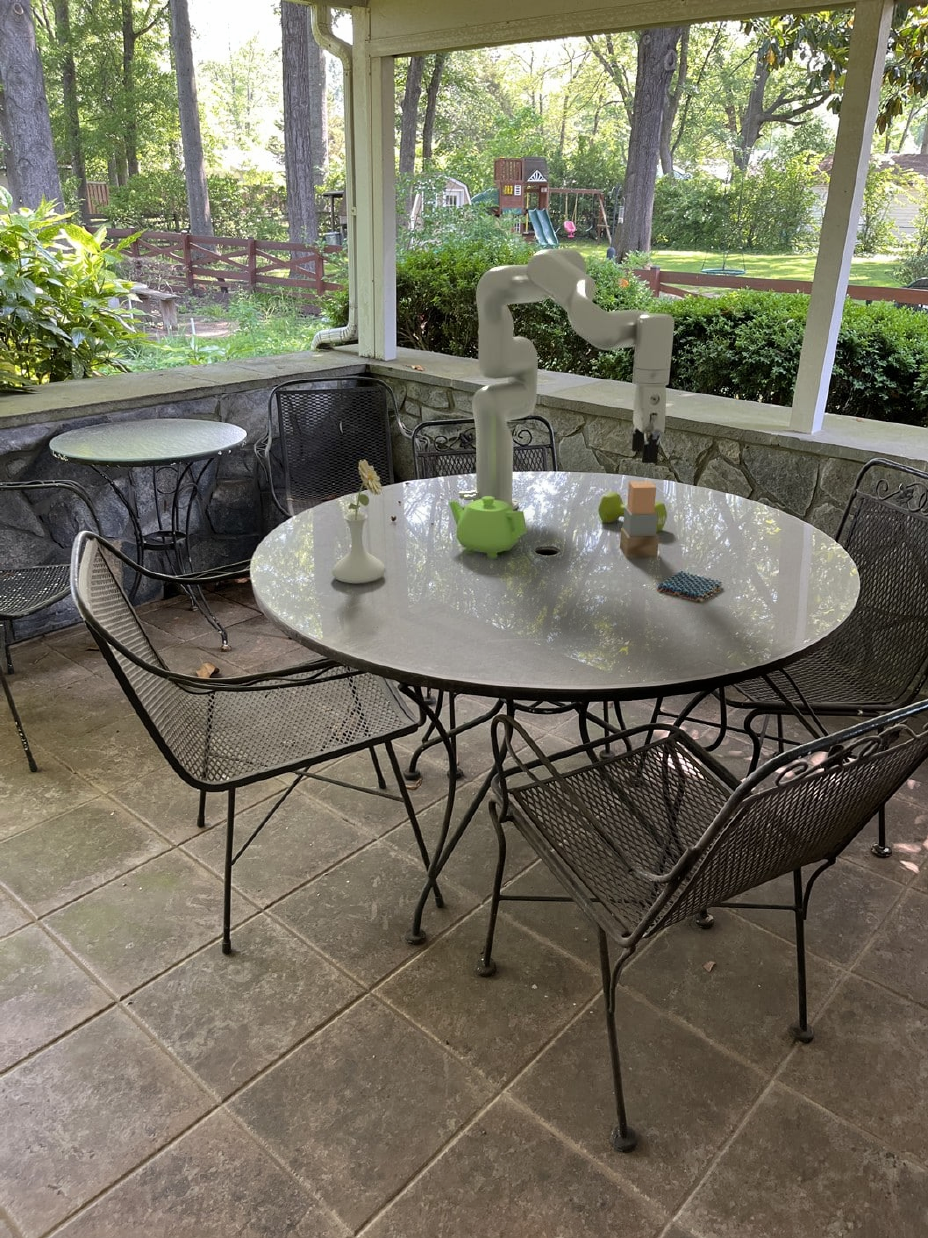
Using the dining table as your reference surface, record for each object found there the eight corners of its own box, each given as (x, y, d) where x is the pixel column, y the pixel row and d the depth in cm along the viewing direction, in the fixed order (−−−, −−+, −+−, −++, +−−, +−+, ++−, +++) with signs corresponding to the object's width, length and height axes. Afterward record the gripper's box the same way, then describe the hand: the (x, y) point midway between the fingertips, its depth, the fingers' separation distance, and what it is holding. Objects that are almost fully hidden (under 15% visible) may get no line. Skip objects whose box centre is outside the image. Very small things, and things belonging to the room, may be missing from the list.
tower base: (626, 558, 195) (627, 537, 193) (619, 548, 201) (621, 527, 199) (657, 557, 195) (659, 536, 193) (649, 547, 201) (651, 526, 199)
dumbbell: (668, 529, 213) (671, 501, 210) (651, 537, 207) (654, 508, 204) (612, 516, 223) (613, 488, 220) (594, 523, 217) (596, 495, 214)
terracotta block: (631, 514, 192) (633, 487, 189) (627, 507, 196) (629, 481, 194) (654, 513, 192) (656, 487, 189) (649, 506, 196) (651, 481, 194)
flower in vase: (364, 592, 178) (356, 473, 168) (321, 581, 184) (311, 465, 173) (401, 572, 188) (396, 458, 178) (359, 562, 194) (352, 452, 183)
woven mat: (724, 589, 179) (726, 580, 178) (700, 606, 172) (702, 596, 171) (679, 577, 185) (679, 569, 184) (654, 592, 178) (654, 583, 177)
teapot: (435, 550, 201) (434, 497, 195) (467, 534, 211) (467, 483, 205) (509, 567, 190) (510, 512, 185) (539, 549, 200) (541, 496, 195)
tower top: (629, 536, 193) (630, 515, 191) (623, 527, 199) (624, 506, 197) (655, 535, 194) (657, 514, 192) (648, 527, 199) (650, 506, 197)
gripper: (679, 383, 174) (671, 467, 181) (658, 369, 190) (651, 446, 197) (642, 383, 174) (635, 467, 181) (624, 369, 189) (618, 447, 197)
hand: (644, 456), depth 189 cm, fingers open, 9 cm apart
